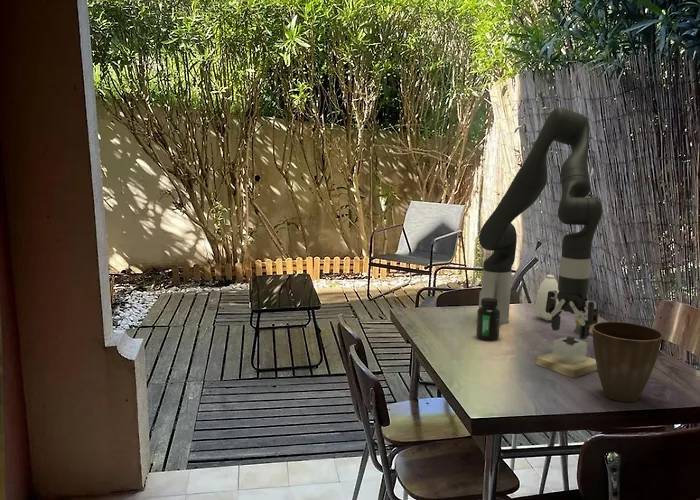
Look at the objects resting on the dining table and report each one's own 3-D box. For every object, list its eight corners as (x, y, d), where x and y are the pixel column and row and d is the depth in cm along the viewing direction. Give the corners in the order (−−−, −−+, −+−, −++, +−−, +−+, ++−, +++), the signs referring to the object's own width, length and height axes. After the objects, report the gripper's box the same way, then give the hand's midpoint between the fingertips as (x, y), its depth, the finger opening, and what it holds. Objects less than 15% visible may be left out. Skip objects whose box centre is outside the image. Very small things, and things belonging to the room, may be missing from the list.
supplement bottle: (487, 342, 181) (489, 303, 179) (471, 336, 187) (473, 298, 185) (503, 339, 185) (505, 300, 183) (487, 333, 191) (489, 295, 189)
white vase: (549, 324, 201) (553, 270, 198) (530, 318, 207) (533, 266, 204) (564, 320, 205) (568, 268, 202) (545, 315, 211) (549, 264, 208)
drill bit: (577, 330, 196) (603, 313, 191) (581, 341, 192) (607, 324, 187) (566, 321, 195) (592, 304, 190) (569, 332, 190) (596, 315, 185)
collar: (552, 358, 163) (553, 340, 162) (566, 354, 166) (567, 336, 165) (571, 364, 158) (573, 346, 157) (585, 360, 161) (587, 342, 160)
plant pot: (579, 382, 151) (584, 320, 149) (642, 385, 150) (648, 322, 147) (597, 407, 137) (603, 339, 134) (667, 411, 135) (674, 342, 133)
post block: (535, 363, 164) (537, 335, 162) (563, 355, 170) (565, 328, 169) (573, 378, 154) (575, 347, 153) (602, 369, 161) (604, 339, 159)
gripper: (607, 278, 154) (601, 339, 157) (560, 267, 166) (555, 325, 169) (589, 281, 150) (583, 344, 153) (542, 270, 162) (537, 329, 165)
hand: (569, 334), depth 161 cm, fingers open, 8 cm apart
